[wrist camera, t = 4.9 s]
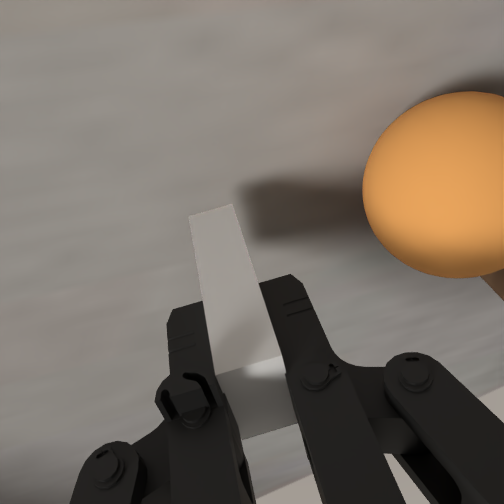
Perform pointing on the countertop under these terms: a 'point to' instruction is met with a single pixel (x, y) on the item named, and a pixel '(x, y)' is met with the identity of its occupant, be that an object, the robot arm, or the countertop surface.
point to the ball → (441, 186)
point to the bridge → (496, 282)
